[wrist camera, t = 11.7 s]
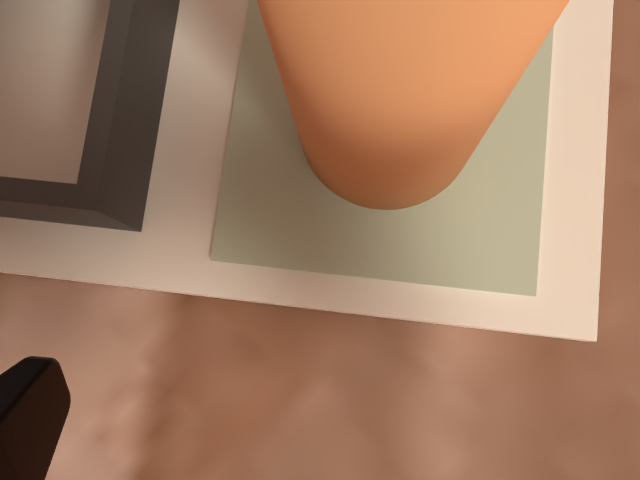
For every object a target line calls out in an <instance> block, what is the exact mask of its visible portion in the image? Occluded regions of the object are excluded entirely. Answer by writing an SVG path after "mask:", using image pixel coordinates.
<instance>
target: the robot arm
mask: <svg viewBox="0 0 640 480" xmlns="http://www.w3.org/2000/svg"><path fill="white" fill-rule="evenodd" d="M70 401H71V399H70V392H69V389H68V387H67V384H66V381H65V378H64V375H63V372H62V369H61V366H60V364H59V362H58V361H57V360H56V359H54V358H47V357H37V356H30V357H27V358H25V359H23V360H21V361H20V362H18V363H17V364H15V365H14V366H12V367H11V368H9V369H8V370H7V371H5V372H4V373H2V374H1V375H0V480H45V477H46V475H47V472H48V469H49V466H50V463H51V460H52V457H53V455H54V452H55V449H56V446H57V443H58V440H59V438H60V435H61V432H62V429H63V426H64V423H65V420H66V418H67V415H68V412H69V408H70Z"/></svg>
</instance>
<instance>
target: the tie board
mask: <svg viewBox="0 0 640 480" xmlns="http://www.w3.org/2000/svg"><path fill="white" fill-rule="evenodd" d="M612 19H613V0H570V1H569V2H568V4H567V6H566V7H565V9H564V10H563V12H562V13H561V15H560V17H559V18H558V20H557V21H556V23H555V24H554V26H553V28H552V29H551V31H550V32H549V34H548V35H547V37H546V39H545V40H544V42H543V43H542V45H541V46H540V48H539V50H538V51H537V53H536V54H535V56H534V57H533V59H532V61H531V62H530V64H529V65H528V67H527V68H526V70H525V72H524V73H523V75H522V76H521V78H520V79H519V81H518V83H517V84H516V86H515V87H514V89H513V90H512V92H511V94H510V95H509V97H508V98H507V100H506V101H505V103H504V105H503V106H502V108H501V109H500V111H499V112H498V114H497V116H496V117H495V119H494V120H493V122H492V123H491V125H490V127H489V128H488V130H487V131H486V133H485V134H484V136H483V138H482V139H481V141H480V142H479V144H478V145H477V147H476V149H475V150H474V152H473V153H472V155H471V156H470V158H469V160H468V161H467V163H466V164H465V166H464V167H463V169H462V170H461V172H460V173H459V174H458V176H457V177H456V179H455V180H454V181H453V182H452V183H451V184H450V185H449V186H448V187H447V188H445V189H444V190H443V191H442V192H440V193H439V194H438V195H436V196H434V197H433V198H431V199H429V200H427V201H425V202H423V203H420V204H418V205H415V206H411V207H408V208H403V209H396V210H378V209H370V208H366V207H362V206H358V205H356V204H353V203H351V202H348V201H346V200H345V199H343V198H341V197H339V196H338V195H336V194H335V193H333V192H332V191H331V190H329V189H328V188H327V187H326V186H325V185H324V184H323V183H322V182H321V181H320V180H319V178H318V177H317V176H316V175H315V174H314V172H313V170H312V169H311V167H310V165H309V164H308V161H307V159H306V157H305V154H304V152H303V148H302V145H301V142H300V139H299V135H298V132H297V129H296V126H295V123H294V119H293V116H292V113H291V110H290V106H289V103H288V100H287V97H286V93H285V90H284V87H283V84H282V81H281V77H280V74H279V71H278V68H277V64H276V61H275V58H274V55H273V52H272V48H271V45H270V42H269V39H268V35H267V32H266V29H265V26H264V22H263V19H262V16H261V13H260V10H259V6H258V3H257V0H0V272H1V273H9V274H18V275H26V276H35V277H43V278H52V279H60V280H69V281H77V282H85V283H94V284H102V285H111V286H119V287H128V288H136V289H145V290H153V291H162V292H170V293H179V294H187V295H196V296H204V297H213V298H221V299H230V300H238V301H247V302H255V303H264V304H272V305H281V306H289V307H298V308H306V309H315V310H323V311H332V312H340V313H349V314H357V315H366V316H374V317H383V318H391V319H400V320H408V321H417V322H425V323H434V324H442V325H451V326H459V327H468V328H476V329H485V330H493V331H502V332H510V333H519V334H527V335H536V336H544V337H553V338H561V339H570V340H578V341H597V326H598V305H599V285H600V264H601V244H602V223H603V203H604V182H605V162H606V142H607V121H608V101H609V80H610V60H611V39H612Z"/></svg>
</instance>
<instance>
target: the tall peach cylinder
mask: <svg viewBox="0 0 640 480" xmlns="http://www.w3.org/2000/svg"><path fill="white" fill-rule="evenodd" d="M569 1H570V0H257V3H258V6H259V10H260V13H261V16H262V19H263V22H264V26H265V29H266V32H267V35H268V39H269V42H270V45H271V48H272V52H273V55H274V58H275V61H276V64H277V68H278V71H279V74H280V77H281V81H282V84H283V87H284V90H285V93H286V97H287V100H288V103H289V106H290V110H291V113H292V116H293V119H294V123H295V126H296V129H297V132H298V135H299V139H300V142H301V145H302V148H303V152H304V154H305V157H306V159H307V161H308V164H309V165H310V167H311V169H312V170H313V172H314V174H315V175H316V176H317V177H318V178H319V180H320V181H321V182H322V183H323V184H324V185H325V186H326V187H327V188H328V189H329V190H331V191H332V192H333V193H335V194H336V195H338V196H339V197H341V198H343V199H345V200H346V201H348V202H351V203H353V204H356V205H358V206H362V207H366V208H370V209H378V210H396V209H403V208H408V207H411V206H415V205H418V204H420V203H423V202H425V201H427V200H429V199H431V198H433V197H434V196H436V195H438V194H439V193H440V192H442V191H443V190H444V189H445V188H447V187H448V186H449V185H450V184H451V183H452V182H453V181H454V180H455V179H456V177H457V176H458V174H459V173H460V172H461V170H462V169H463V167H464V166H465V164H466V163H467V161H468V160H469V158H470V156H471V155H472V153H473V152H474V150H475V149H476V147H477V145H478V144H479V142H480V141H481V139H482V138H483V136H484V134H485V133H486V131H487V130H488V128H489V127H490V125H491V123H492V122H493V120H494V119H495V117H496V116H497V114H498V112H499V111H500V109H501V108H502V106H503V105H504V103H505V101H506V100H507V98H508V97H509V95H510V94H511V92H512V90H513V89H514V87H515V86H516V84H517V83H518V81H519V79H520V78H521V76H522V75H523V73H524V72H525V70H526V68H527V67H528V65H529V64H530V62H531V61H532V59H533V57H534V56H535V54H536V53H537V51H538V50H539V48H540V46H541V45H542V43H543V42H544V40H545V39H546V37H547V35H548V34H549V32H550V31H551V29H552V28H553V26H554V24H555V23H556V21H557V20H558V18H559V17H560V15H561V13H562V12H563V10H564V9H565V7H566V6H567V4H568V2H569Z"/></svg>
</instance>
